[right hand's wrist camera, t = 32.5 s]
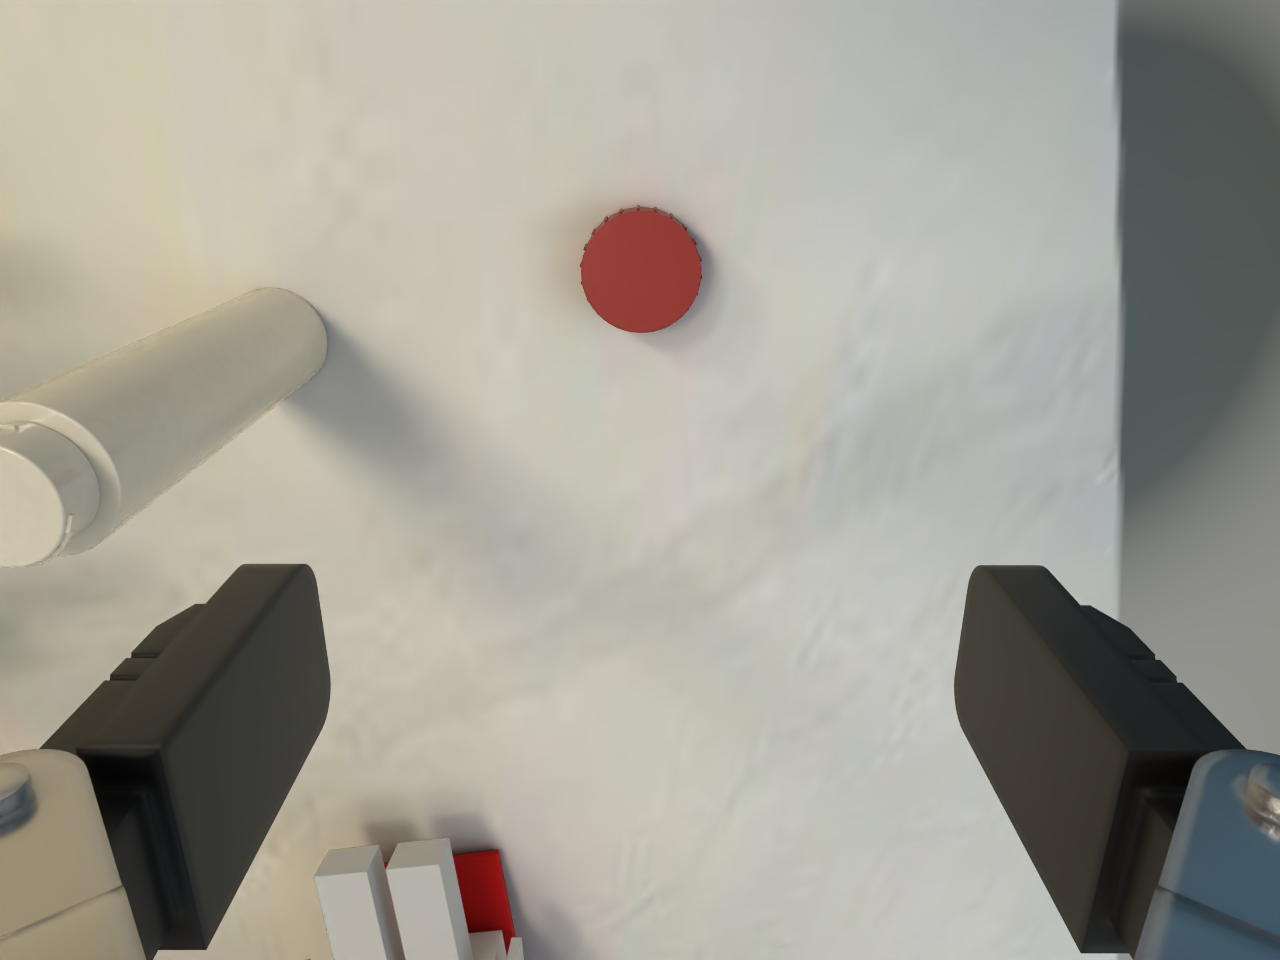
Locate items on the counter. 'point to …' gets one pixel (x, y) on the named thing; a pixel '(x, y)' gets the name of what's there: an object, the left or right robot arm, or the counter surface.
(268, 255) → the counter surface
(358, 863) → the toy
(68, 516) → the jar
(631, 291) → the lid
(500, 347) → the counter surface
